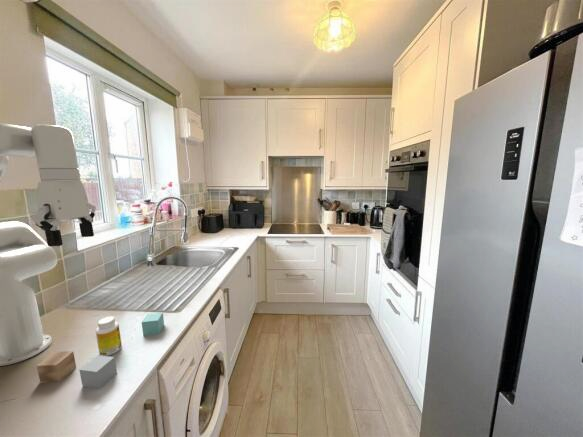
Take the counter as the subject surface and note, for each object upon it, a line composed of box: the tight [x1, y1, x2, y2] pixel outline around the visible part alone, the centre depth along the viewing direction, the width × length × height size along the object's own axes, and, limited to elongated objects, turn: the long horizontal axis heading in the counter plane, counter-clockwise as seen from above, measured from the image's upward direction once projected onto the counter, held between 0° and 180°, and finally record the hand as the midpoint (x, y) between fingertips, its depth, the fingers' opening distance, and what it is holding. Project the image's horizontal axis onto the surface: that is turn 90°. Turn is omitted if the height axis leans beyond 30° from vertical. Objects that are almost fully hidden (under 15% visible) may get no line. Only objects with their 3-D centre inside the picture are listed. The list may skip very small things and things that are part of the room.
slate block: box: [79, 354, 117, 390], centre depth 62 cm, size 5×5×5 cm
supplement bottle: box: [95, 315, 123, 357], centre depth 73 cm, size 6×6×10 cm
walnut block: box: [36, 350, 77, 383], centre depth 65 cm, size 5×5×5 cm
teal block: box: [141, 312, 165, 337], centre depth 83 cm, size 5×5×5 cm
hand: (72, 240), depth 65 cm, fingers open, 9 cm apart
